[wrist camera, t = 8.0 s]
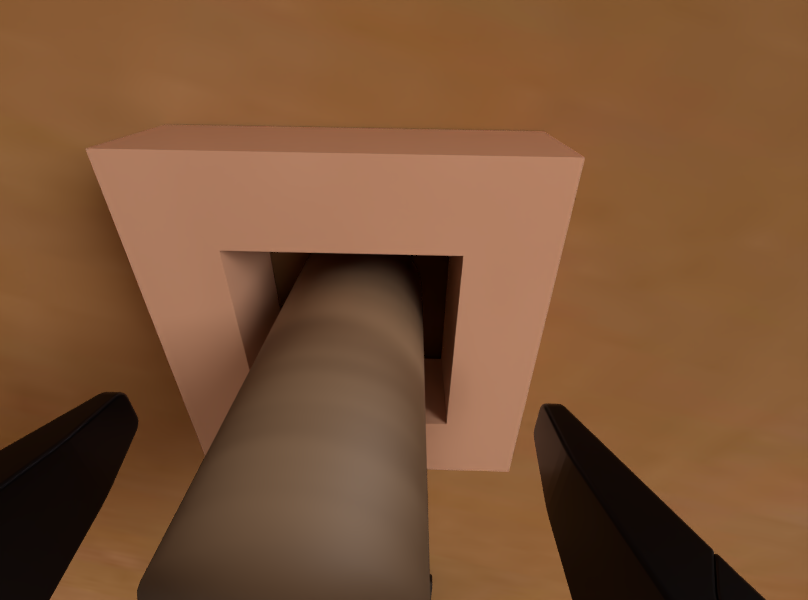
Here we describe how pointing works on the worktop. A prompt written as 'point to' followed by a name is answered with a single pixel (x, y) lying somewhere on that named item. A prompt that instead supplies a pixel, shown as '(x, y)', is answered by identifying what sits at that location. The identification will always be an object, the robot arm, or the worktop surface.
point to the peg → (316, 453)
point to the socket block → (347, 251)
